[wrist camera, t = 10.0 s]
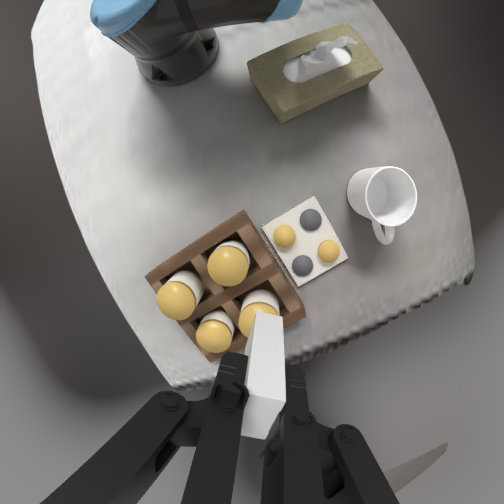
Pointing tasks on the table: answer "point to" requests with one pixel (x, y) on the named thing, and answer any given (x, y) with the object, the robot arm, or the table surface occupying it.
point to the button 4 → (256, 308)
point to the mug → (383, 198)
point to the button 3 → (229, 262)
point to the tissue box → (313, 70)
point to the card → (305, 241)
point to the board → (230, 297)
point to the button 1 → (180, 295)
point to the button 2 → (215, 331)
